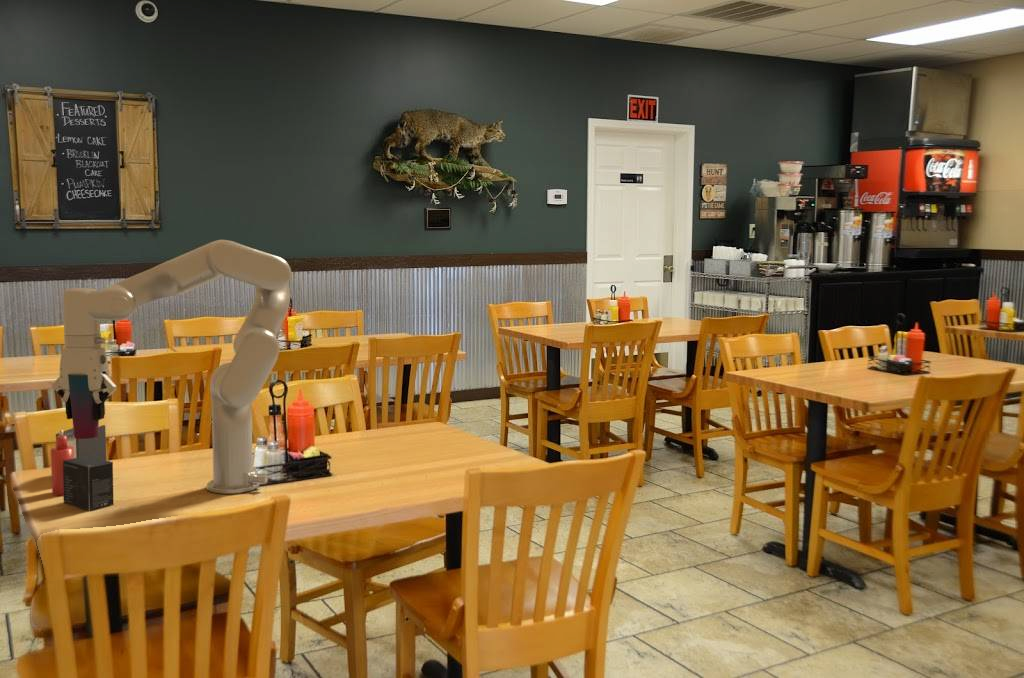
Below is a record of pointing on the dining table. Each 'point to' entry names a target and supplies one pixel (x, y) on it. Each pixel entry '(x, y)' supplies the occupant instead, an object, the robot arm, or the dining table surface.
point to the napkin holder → (87, 444)
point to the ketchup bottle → (59, 463)
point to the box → (88, 482)
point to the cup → (82, 407)
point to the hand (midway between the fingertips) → (85, 418)
